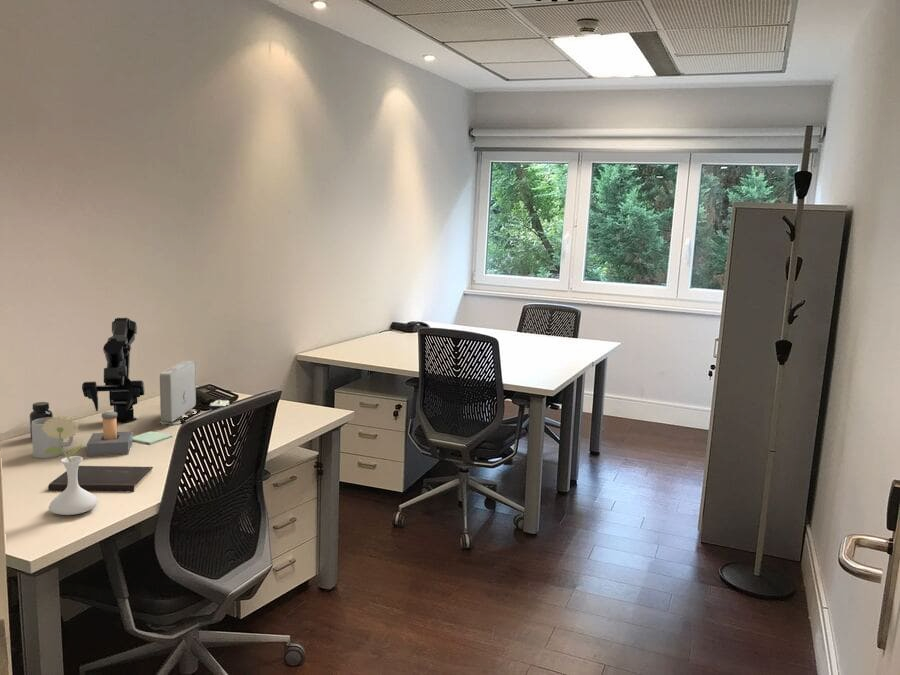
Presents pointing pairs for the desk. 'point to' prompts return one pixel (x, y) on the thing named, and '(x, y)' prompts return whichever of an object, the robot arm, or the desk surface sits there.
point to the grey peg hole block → (109, 444)
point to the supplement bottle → (39, 412)
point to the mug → (45, 440)
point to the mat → (151, 437)
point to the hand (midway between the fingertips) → (111, 410)
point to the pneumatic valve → (218, 404)
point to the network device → (177, 392)
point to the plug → (109, 425)
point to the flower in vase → (68, 471)
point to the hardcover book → (104, 478)
